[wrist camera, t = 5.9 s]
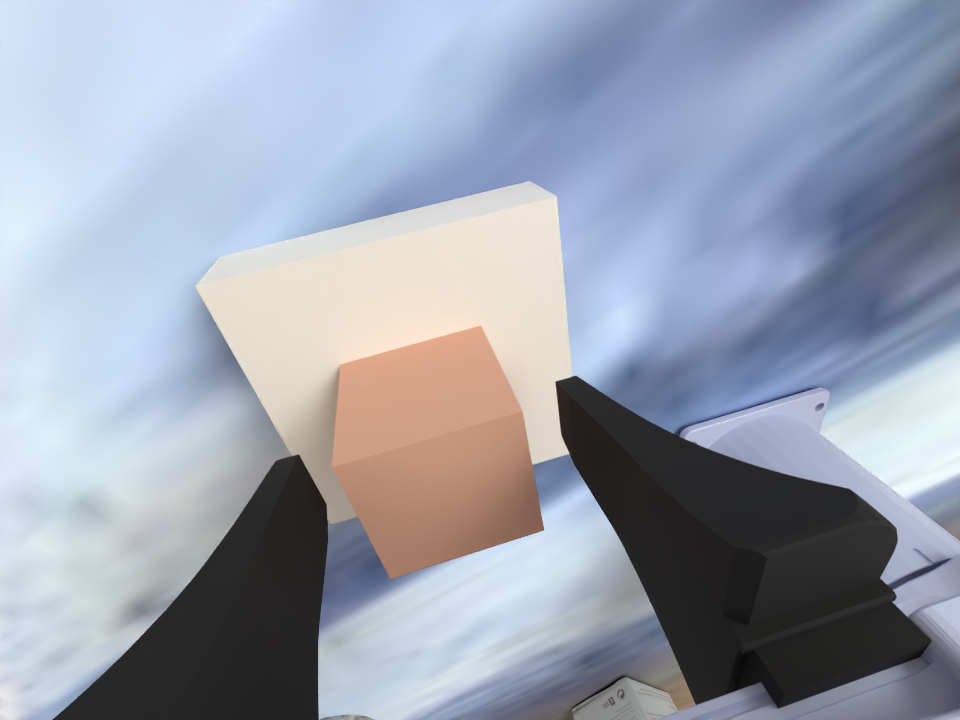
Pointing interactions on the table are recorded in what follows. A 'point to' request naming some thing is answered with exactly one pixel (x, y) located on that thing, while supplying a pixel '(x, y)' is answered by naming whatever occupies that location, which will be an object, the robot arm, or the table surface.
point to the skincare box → (626, 703)
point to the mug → (347, 717)
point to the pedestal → (398, 311)
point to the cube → (434, 452)
